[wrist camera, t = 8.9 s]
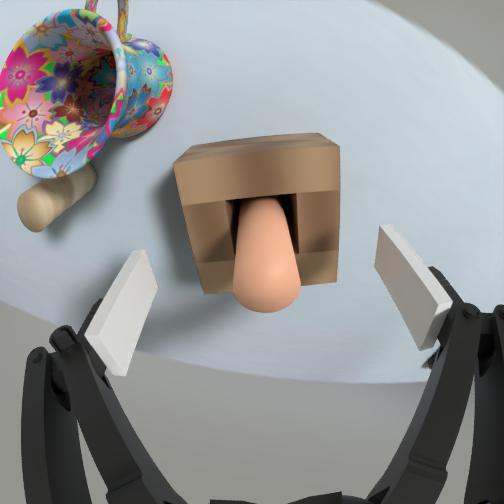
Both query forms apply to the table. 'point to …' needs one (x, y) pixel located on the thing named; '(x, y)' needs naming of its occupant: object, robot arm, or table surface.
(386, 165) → the table surface
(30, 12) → the table surface
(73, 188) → the medium pin
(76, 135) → the mug
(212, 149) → the block
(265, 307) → the long pin
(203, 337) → the table surface
